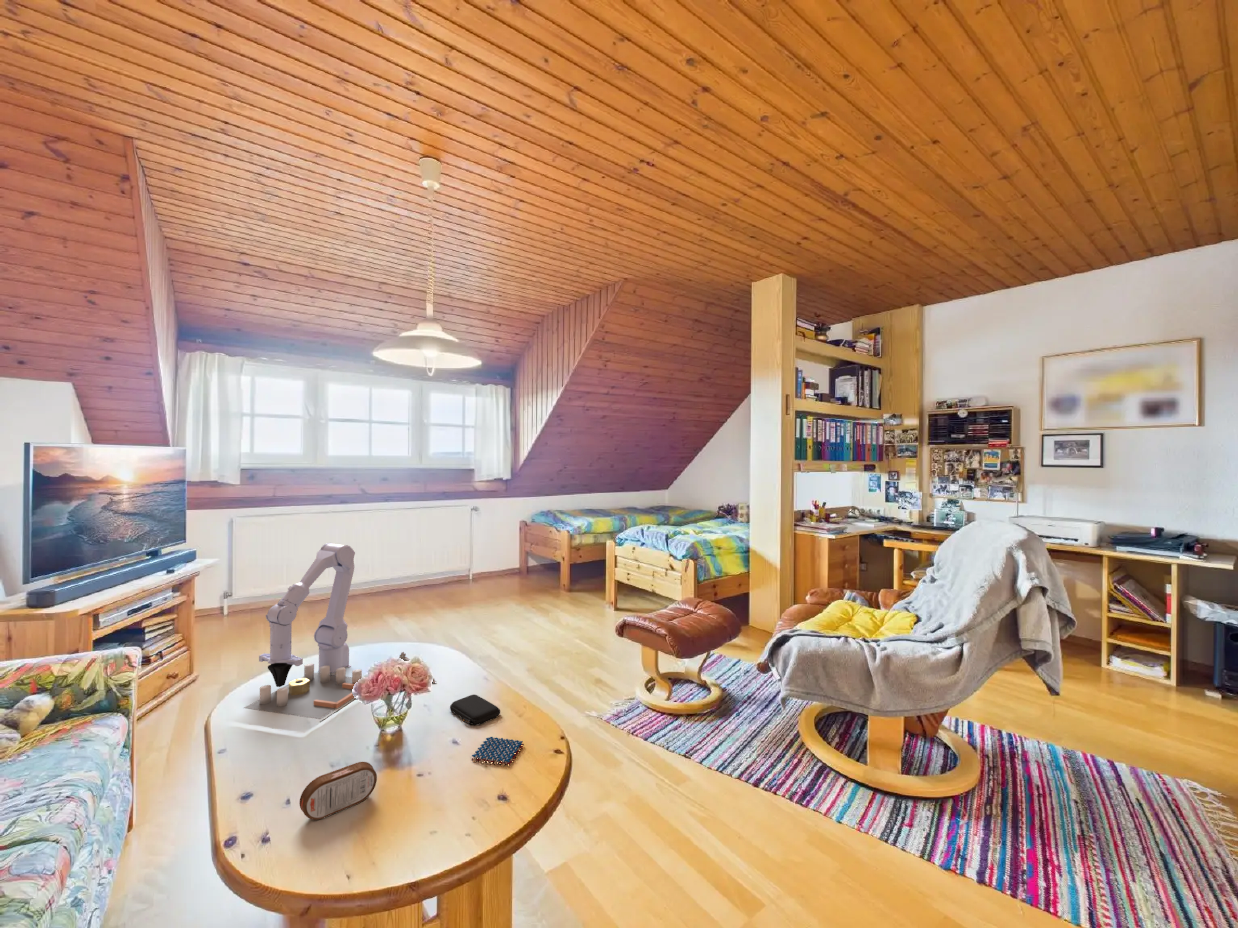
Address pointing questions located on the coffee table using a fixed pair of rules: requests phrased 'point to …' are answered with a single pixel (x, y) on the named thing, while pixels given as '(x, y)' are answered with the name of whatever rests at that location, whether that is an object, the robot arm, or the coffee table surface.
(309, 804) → the tin
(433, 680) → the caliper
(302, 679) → the brass nut
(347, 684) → the parts bay
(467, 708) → the carrying case or bag
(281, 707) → the plate
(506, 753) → the woven mat
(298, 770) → the coffee table surface
